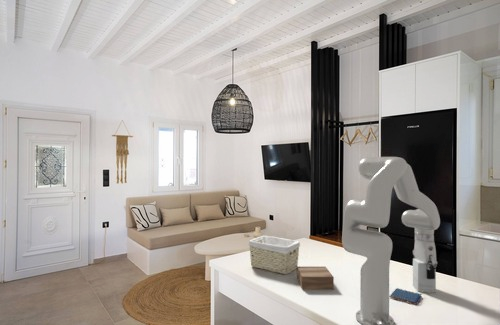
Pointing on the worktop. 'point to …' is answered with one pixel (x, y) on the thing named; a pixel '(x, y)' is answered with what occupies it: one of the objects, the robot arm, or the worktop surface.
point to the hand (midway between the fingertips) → (424, 274)
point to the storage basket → (274, 254)
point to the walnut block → (315, 278)
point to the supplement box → (422, 278)
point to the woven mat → (406, 296)
